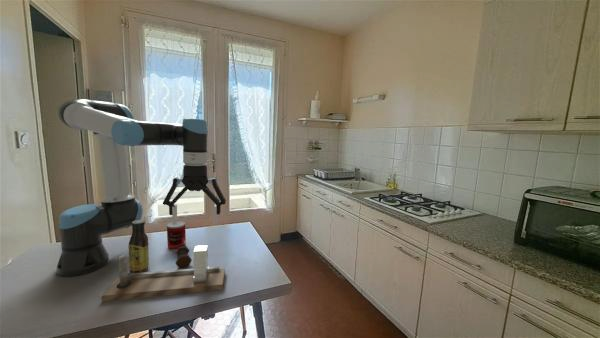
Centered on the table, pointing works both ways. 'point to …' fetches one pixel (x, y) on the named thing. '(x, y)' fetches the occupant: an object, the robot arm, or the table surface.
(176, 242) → the canned food
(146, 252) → the sauce bottle
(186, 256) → the bolt
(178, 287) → the board
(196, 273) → the block
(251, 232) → the table surface
